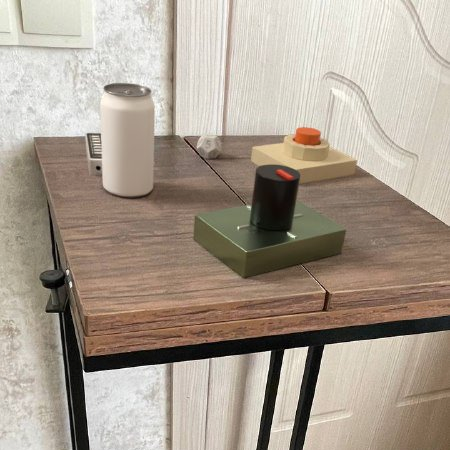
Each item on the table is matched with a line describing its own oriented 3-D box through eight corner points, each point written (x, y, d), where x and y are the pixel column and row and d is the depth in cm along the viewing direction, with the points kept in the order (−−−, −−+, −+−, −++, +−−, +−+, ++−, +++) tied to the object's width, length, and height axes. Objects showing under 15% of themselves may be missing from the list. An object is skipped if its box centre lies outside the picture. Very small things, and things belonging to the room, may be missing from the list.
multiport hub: (116, 149, 93) (115, 133, 92) (122, 176, 85) (122, 159, 84) (85, 148, 92) (85, 132, 91) (89, 176, 84) (88, 158, 83)
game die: (222, 160, 93) (224, 140, 91) (198, 160, 92) (199, 139, 90) (217, 152, 96) (219, 132, 94) (193, 152, 95) (195, 131, 93)
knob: (241, 215, 71) (247, 164, 67) (276, 210, 73) (283, 159, 69) (265, 233, 68) (273, 180, 64) (300, 226, 70) (310, 174, 66)
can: (162, 187, 83) (165, 89, 75) (135, 202, 78) (135, 100, 71) (121, 175, 85) (120, 79, 77) (92, 189, 80) (88, 88, 73)
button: (308, 138, 93) (310, 126, 92) (323, 146, 91) (326, 133, 90) (289, 140, 92) (291, 128, 91) (305, 148, 90) (307, 136, 88)
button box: (311, 153, 100) (315, 126, 97) (354, 174, 94) (360, 147, 91) (250, 161, 94) (253, 134, 91) (292, 185, 88) (296, 156, 85)
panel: (287, 219, 79) (291, 195, 77) (341, 253, 72) (347, 227, 70) (193, 239, 72) (194, 212, 70) (243, 278, 66) (246, 250, 64)
